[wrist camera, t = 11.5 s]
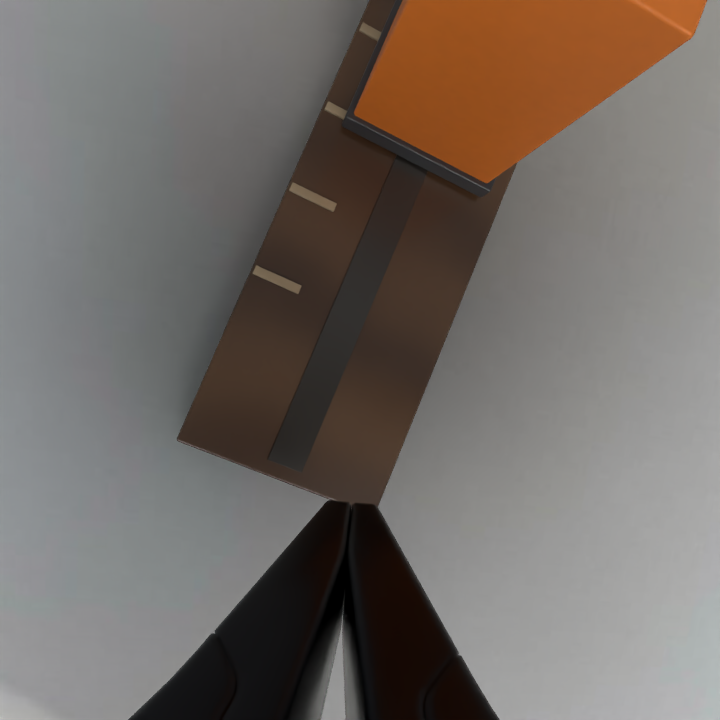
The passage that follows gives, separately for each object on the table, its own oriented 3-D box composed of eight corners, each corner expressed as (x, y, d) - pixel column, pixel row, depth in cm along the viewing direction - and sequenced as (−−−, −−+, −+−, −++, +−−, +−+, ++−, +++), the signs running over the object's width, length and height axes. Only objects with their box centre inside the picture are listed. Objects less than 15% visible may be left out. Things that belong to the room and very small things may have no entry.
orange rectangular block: (481, 198, 21) (699, 53, 11) (340, 126, 20) (443, -105, 10) (526, 87, 21) (777, -150, 11) (390, 11, 20) (536, -322, 10)
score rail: (364, 506, 22) (398, 543, 17) (180, 435, 20) (164, 455, 16) (560, 24, 23) (636, -55, 19) (401, -70, 22) (443, -179, 18)
